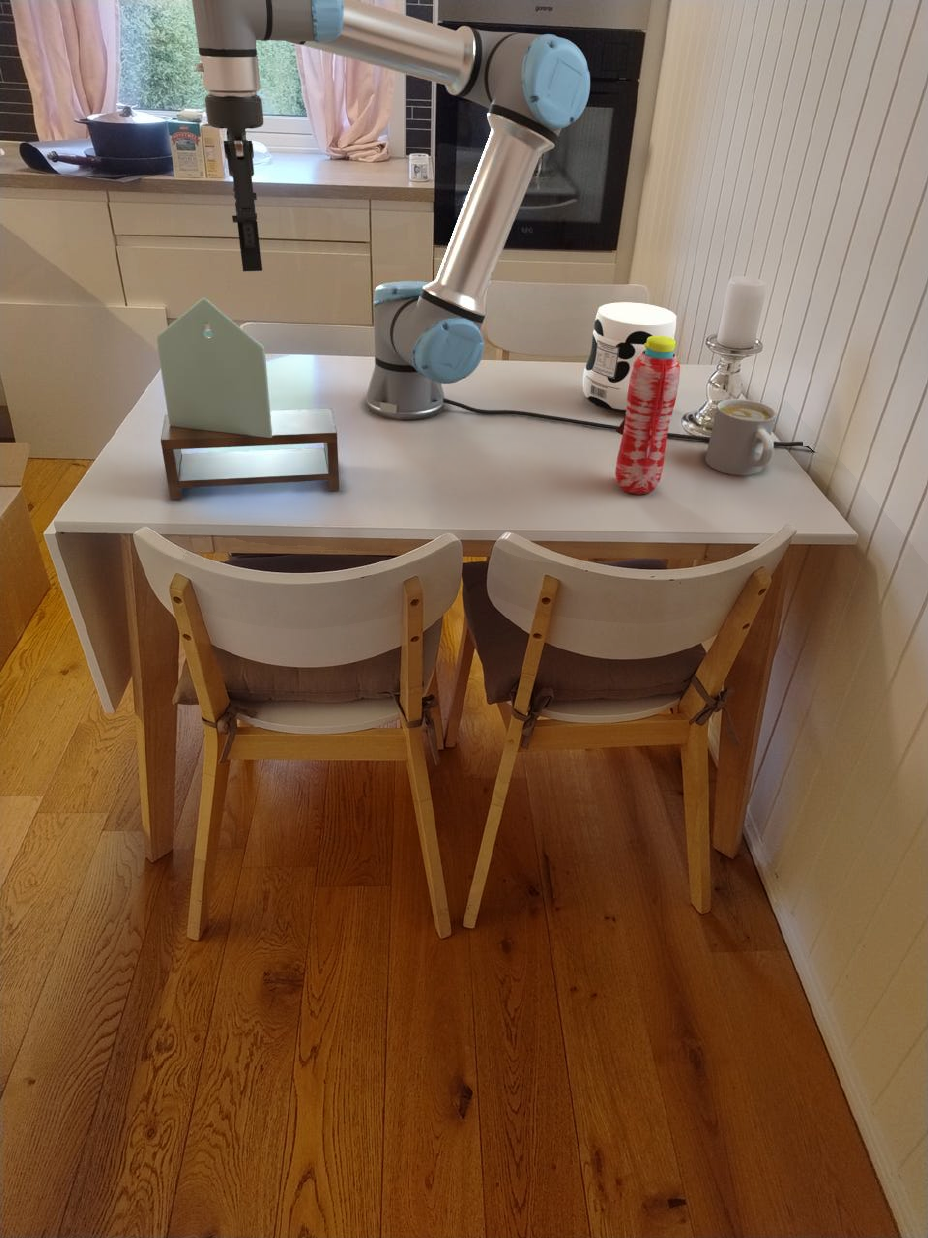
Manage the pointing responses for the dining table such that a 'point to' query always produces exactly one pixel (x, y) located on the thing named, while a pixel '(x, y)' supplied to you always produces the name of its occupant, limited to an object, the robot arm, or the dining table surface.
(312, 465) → the shelf
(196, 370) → the planter
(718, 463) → the coffee mug
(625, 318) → the milk container
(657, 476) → the water bottle
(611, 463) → the dining table surface
